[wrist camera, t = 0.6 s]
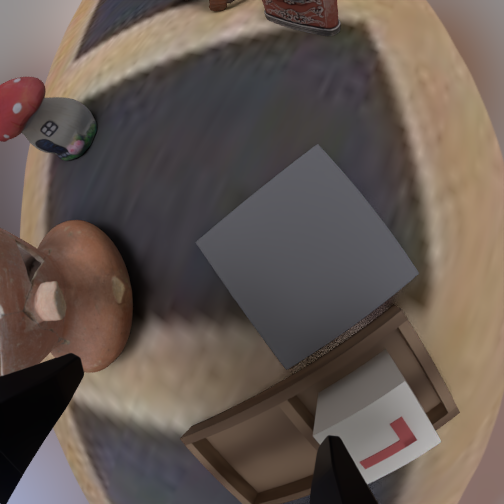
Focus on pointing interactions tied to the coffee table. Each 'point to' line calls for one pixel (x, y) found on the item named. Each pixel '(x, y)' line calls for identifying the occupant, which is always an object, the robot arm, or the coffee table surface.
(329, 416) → the letter cube
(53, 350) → the ceramic jug
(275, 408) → the tray
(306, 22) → the lighter
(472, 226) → the coffee table surface
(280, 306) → the pad
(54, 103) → the decorative ornament
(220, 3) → the brown irregular piece
